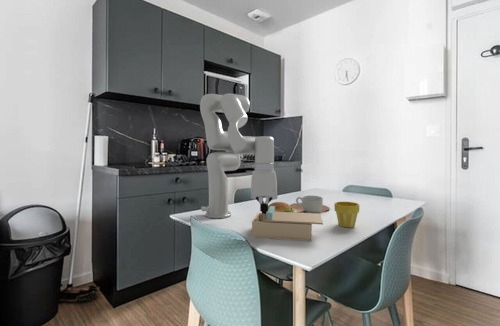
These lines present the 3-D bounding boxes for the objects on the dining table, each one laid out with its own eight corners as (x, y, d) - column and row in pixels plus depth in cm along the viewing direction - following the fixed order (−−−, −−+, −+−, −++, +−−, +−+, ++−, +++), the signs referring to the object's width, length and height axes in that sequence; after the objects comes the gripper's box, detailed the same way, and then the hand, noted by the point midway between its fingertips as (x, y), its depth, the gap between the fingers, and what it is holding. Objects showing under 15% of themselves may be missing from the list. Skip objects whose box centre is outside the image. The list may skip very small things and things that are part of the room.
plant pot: (329, 223, 122) (329, 202, 121) (347, 221, 125) (348, 200, 125) (344, 230, 112) (345, 206, 111) (364, 227, 116) (365, 205, 115)
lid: (262, 221, 102) (262, 213, 101) (266, 212, 115) (266, 205, 115) (322, 224, 98) (323, 216, 98) (319, 215, 111) (320, 207, 111)
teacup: (325, 211, 145) (325, 196, 144) (318, 215, 135) (319, 199, 135) (300, 208, 152) (300, 194, 152) (293, 212, 143) (293, 197, 142)
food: (284, 214, 139) (284, 198, 138) (298, 221, 126) (299, 204, 125) (259, 216, 134) (259, 200, 133) (272, 224, 121) (272, 206, 120)
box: (252, 237, 103) (252, 221, 102) (257, 226, 116) (257, 212, 116) (311, 240, 99) (311, 224, 98) (309, 229, 113) (310, 215, 112)
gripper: (244, 168, 105) (244, 214, 106) (282, 168, 102) (282, 216, 103) (247, 166, 112) (247, 210, 113) (283, 167, 110) (283, 212, 111)
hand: (264, 213), depth 108 cm, fingers closed
